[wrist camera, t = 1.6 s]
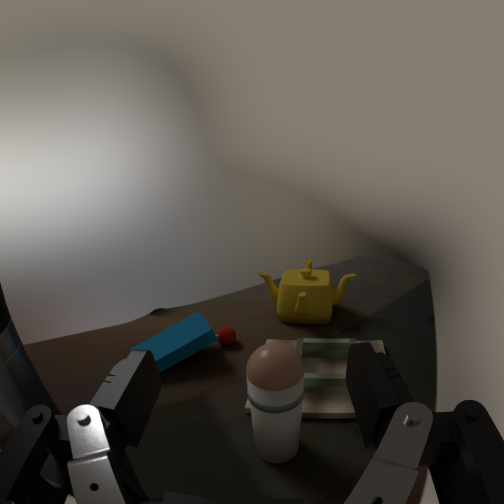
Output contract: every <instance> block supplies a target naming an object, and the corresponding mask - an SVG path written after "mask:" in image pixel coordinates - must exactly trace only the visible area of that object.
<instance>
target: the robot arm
mask: <svg viewBox="0 0 504 504" xmlns="http://www.w3.org/2000/svg"><path fill="white" fill-rule="evenodd" d="M161 385H162V382H161V376H160V374H159V371H158V368H157V365H156V362H155V359H154V356H153V353H152V352H151V351H150V350H140V349H133V350H132V351H131V353H130V354H129V356H128V357H127V359H126V360H122V361H120V362H119V363H118V364H116V365H115V366H114V367H113V369H112V370H111V372H110V373H109V376H107V378H106V379H105V382H103V384H102V385H101V387H100V388H99V390H98V391H97V393H96V394H95V396H94V398H93V399H92V401H91V402H90V404H89V405H81V406H78V407H76V408H74V409H73V410H72V411H71V412H70V413H69V415H62V413H61V412H60V410H59V409H58V407H57V406H56V404H55V403H54V401H53V399H52V398H51V396H50V394H49V393H48V391H47V389H46V388H45V386H44V384H43V383H42V381H41V379H40V377H39V376H38V374H37V372H36V370H35V368H34V366H33V364H32V362H31V360H30V358H29V356H28V354H27V352H26V350H25V348H24V346H23V344H22V342H21V340H20V338H19V335H18V333H17V331H16V328H15V326H14V323H13V321H12V319H11V316H10V313H9V311H8V308H7V305H6V302H5V298H4V295H3V291H2V287H1V283H0V414H1V416H2V417H3V419H4V420H5V421H6V422H7V424H8V425H9V426H10V428H11V429H12V430H13V431H14V432H13V433H12V435H11V436H10V438H9V439H8V441H7V443H6V444H5V446H4V447H3V449H2V451H1V452H0V504H64V503H65V501H66V498H67V496H68V493H69V491H70V488H71V486H72V488H73V492H74V496H75V500H76V503H77V504H220V503H217V502H213V501H210V500H207V499H204V498H201V497H198V496H191V495H184V494H178V493H172V492H167V491H165V494H164V498H159V499H152V500H150V499H149V498H148V496H147V495H146V493H145V492H144V491H143V489H142V487H141V485H140V483H139V481H138V479H137V477H136V475H135V472H134V470H133V468H132V466H131V463H130V461H129V458H128V456H127V454H126V452H125V448H126V446H127V445H128V446H133V447H138V444H139V442H140V439H141V437H142V434H143V432H144V429H145V427H146V424H147V422H148V420H149V417H150V415H151V412H152V410H153V408H154V405H155V403H156V400H157V398H158V396H159V393H160V391H161ZM346 385H347V389H348V392H349V395H350V398H351V401H352V404H353V408H354V411H355V414H356V417H357V420H358V424H359V427H360V430H361V434H362V437H363V440H364V444H365V447H366V448H368V447H372V446H375V448H376V453H375V454H374V456H373V458H372V459H371V461H370V463H369V465H368V466H367V468H366V470H365V471H364V473H363V475H362V477H361V478H360V480H359V481H358V483H357V485H356V486H355V488H354V489H353V491H352V492H351V494H350V495H349V497H348V498H347V500H346V501H345V503H344V504H405V503H406V500H407V498H408V496H409V494H410V492H411V490H412V487H413V485H414V483H415V480H416V478H417V475H418V471H419V470H418V469H417V466H428V467H429V470H430V474H431V477H432V480H433V483H434V487H435V490H436V493H437V497H438V500H439V504H504V440H503V438H502V437H501V435H500V433H499V431H498V430H497V428H496V426H495V424H494V422H493V421H492V419H491V417H490V416H489V414H488V412H487V410H486V409H485V408H484V406H483V405H482V404H481V403H479V402H477V401H474V400H465V401H462V402H460V403H459V404H458V405H457V406H456V408H455V409H454V411H452V412H431V410H430V409H429V408H428V407H427V406H425V405H423V404H421V403H417V402H415V401H414V399H413V397H412V395H411V393H410V391H409V390H408V388H407V386H406V384H405V382H404V380H403V379H402V377H401V376H400V373H399V372H398V370H397V369H396V366H395V365H394V363H393V361H392V359H391V358H390V357H388V356H387V355H386V354H384V353H383V352H377V353H376V352H375V351H374V349H373V347H372V345H371V343H370V342H361V343H354V344H351V345H350V347H349V354H348V361H347V368H346ZM44 449H47V450H48V451H49V452H50V453H49V455H48V457H47V459H46V461H45V463H44V465H43V467H42V469H41V471H40V473H38V471H37V463H38V461H39V459H40V457H41V455H42V453H43V451H44ZM249 504H304V503H303V498H292V499H274V500H264V501H260V502H255V503H249Z"/></svg>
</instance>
